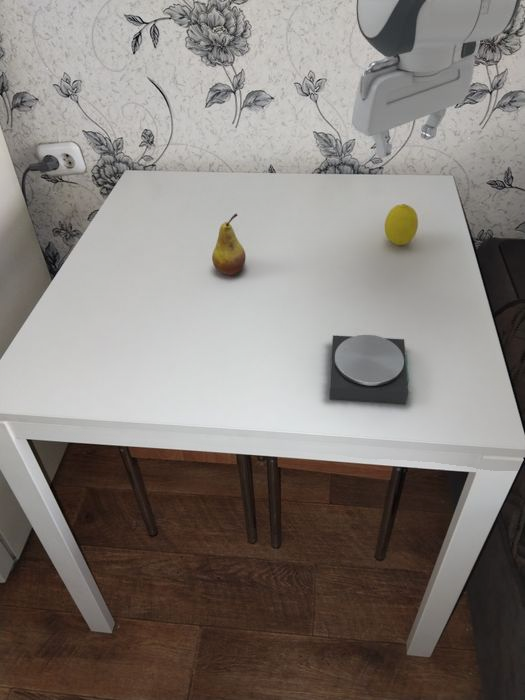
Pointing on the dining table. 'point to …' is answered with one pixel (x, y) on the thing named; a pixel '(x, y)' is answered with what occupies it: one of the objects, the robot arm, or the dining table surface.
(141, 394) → the dining table surface
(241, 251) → the fruit
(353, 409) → the dining table surface
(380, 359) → the scale pan
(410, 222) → the lemon
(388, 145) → the robot arm
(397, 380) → the scale
